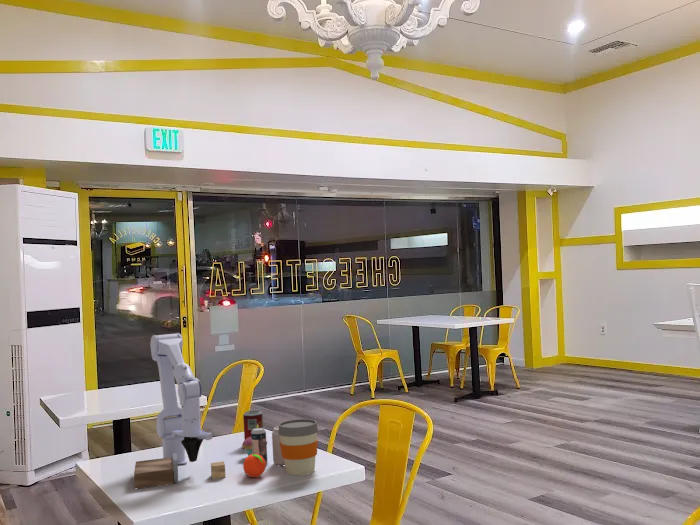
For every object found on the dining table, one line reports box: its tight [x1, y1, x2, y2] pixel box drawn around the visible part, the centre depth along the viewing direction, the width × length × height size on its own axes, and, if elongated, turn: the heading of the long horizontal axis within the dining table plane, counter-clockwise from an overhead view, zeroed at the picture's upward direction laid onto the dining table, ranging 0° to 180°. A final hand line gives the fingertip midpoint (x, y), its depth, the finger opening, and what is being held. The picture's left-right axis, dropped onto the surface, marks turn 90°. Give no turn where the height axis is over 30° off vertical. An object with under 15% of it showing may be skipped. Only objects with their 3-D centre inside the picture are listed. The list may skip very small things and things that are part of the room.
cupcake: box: [241, 425, 268, 457], centre depth 229 cm, size 9×8×12 cm
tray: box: [173, 453, 179, 484], centre depth 209 cm, size 14×12×6 cm
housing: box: [133, 457, 175, 489], centre depth 208 cm, size 15×11×4 cm
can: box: [271, 425, 285, 467], centre depth 219 cm, size 8×8×12 cm
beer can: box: [251, 427, 268, 466], centre depth 217 cm, size 5×5×12 cm
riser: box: [210, 460, 226, 480], centre depth 208 cm, size 4×4×4 cm
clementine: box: [242, 454, 267, 478], centre depth 205 cm, size 8×7×7 cm
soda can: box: [242, 410, 264, 441], centre depth 247 cm, size 7×7×12 cm
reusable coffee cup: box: [278, 418, 319, 476], centre depth 209 cm, size 12×13×15 cm
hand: (193, 461), depth 212 cm, fingers closed
